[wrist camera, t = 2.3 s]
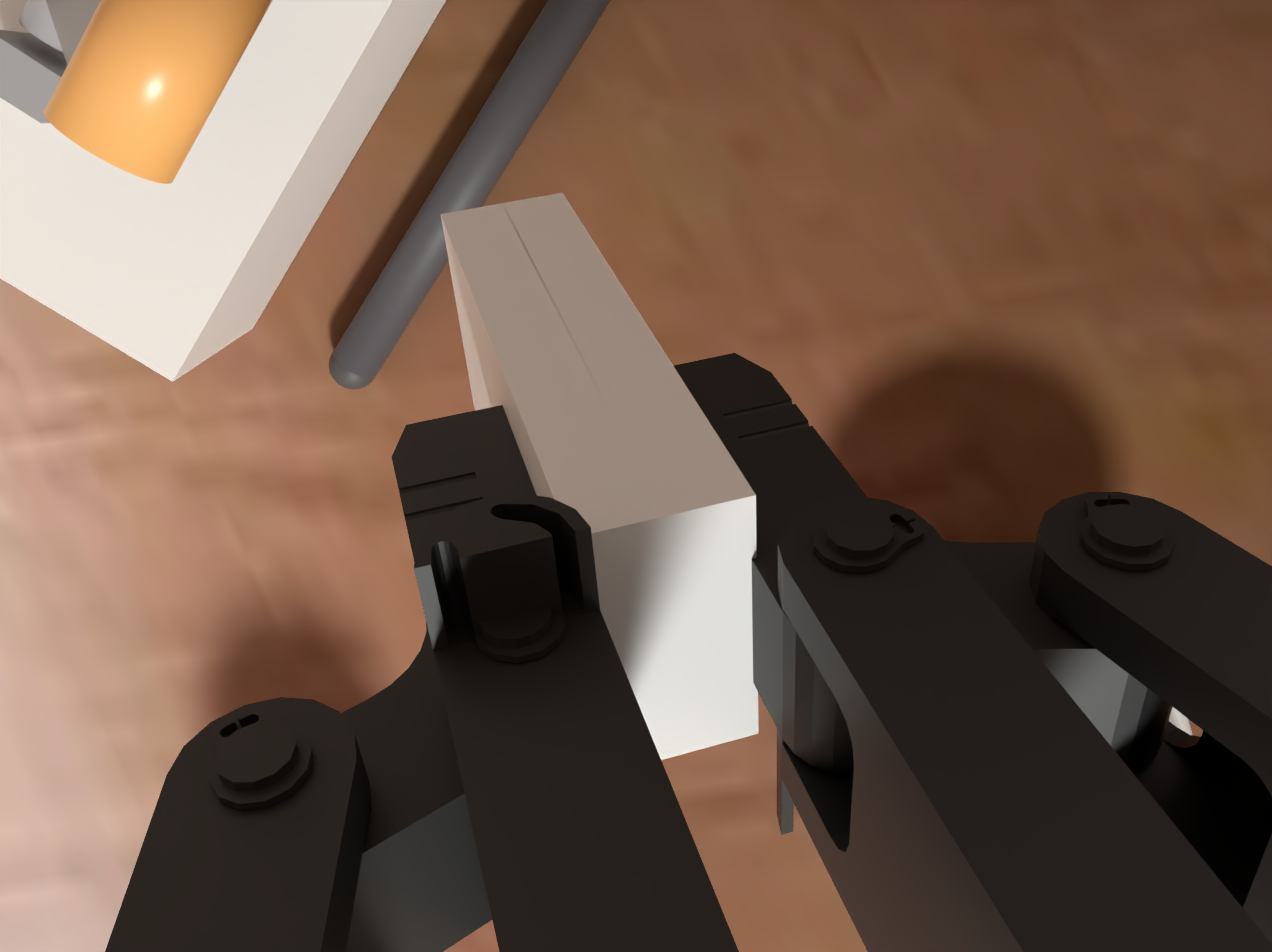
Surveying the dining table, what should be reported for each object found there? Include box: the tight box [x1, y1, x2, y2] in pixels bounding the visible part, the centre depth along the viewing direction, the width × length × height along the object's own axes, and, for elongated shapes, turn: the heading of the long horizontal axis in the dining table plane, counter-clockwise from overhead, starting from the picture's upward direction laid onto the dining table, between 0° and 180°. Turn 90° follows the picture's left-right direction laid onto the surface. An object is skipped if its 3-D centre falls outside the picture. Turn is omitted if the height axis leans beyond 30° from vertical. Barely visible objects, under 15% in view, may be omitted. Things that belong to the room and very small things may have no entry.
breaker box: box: [0, 0, 610, 389], centre depth 32 cm, size 18×16×11 cm
